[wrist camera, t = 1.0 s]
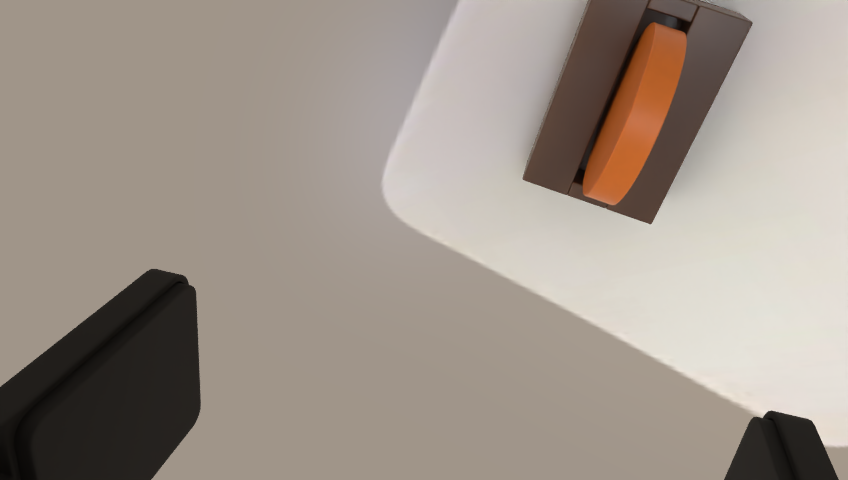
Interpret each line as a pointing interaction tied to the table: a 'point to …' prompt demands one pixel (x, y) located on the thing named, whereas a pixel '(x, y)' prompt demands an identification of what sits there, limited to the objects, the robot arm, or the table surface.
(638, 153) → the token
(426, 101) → the table surface
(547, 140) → the holder
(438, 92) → the table surface
